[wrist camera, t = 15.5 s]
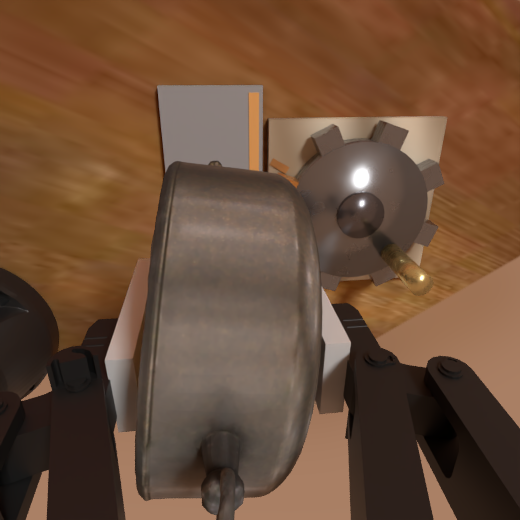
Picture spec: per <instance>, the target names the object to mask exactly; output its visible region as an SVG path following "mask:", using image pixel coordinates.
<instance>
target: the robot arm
mask: <svg viewBox="0 0 520 520" xmlns="http://www.w3.org/2000/svg"><path fill="white" fill-rule="evenodd" d="M149 268H150V258H148V259H138V262H137V265H136V268H135V271H134V274H133V277H132V280H131V283H130V286H129V289H128V292H127V295H126V298H125V301H124V304H123V307H122V310H121V313H120V316H119V318H117V319H101V320H97V321H96V322H95V323H94V324H93V325H92V326H91V327H90V328H89V329H88V331H87V334H86V336H85V340H84V341H83V343H82V345H81V346H74V347H70V348H67V349H63V350H61V351H59V352H58V353H57V351H58V346H59V332H58V326H57V323H56V320H55V317H54V315H53V313H52V311H51V309H50V308H49V306H48V304H47V303H46V302H45V300H44V299H43V298H42V297H41V296H40V294H39V293H38V292H37V291H36V290H35V289H34V288H32V287H31V286H30V285H29V284H28V283H26V282H25V281H24V280H22V279H21V278H19V277H17V276H16V275H14V274H12V273H11V272H9V271H7V270H5V269H2V268H0V520H26V517H27V514H28V511H29V508H30V505H31V503H32V500H33V497H34V494H35V491H36V488H37V485H38V483H39V480H40V477H41V474H42V472H43V471H46V470H49V479H48V502H47V503H48V504H47V520H125V512H124V504H123V496H122V489H121V481H120V474H119V466H118V458H117V450H116V443H115V438H114V433H113V432H114V428H115V423H116V421H117V425H118V431H119V432H127V431H136V412H137V399H138V377H139V369H140V357H141V353H140V352H141V347H142V335H143V330H144V318H145V305H146V300H147V293H148V274H149ZM47 373H48V377H49V380H50V384H51V387H52V391H51V392H49V393H47V394H44V395H41V396H38V397H35V398H32V399H28V400H25V401H21V399H23V398H24V397H26V396H27V395H28V394H30V393H31V392H32V391H33V390H34V389H35V388H36V387H37V386H38V385H39V384H40V383H41V381H42V380H43V379H44V377H45V376H46V374H47ZM344 399H345V401H346V404H347V406H348V408H349V412H348V420H347V428H346V436H345V438H346V439H348V450H349V476H350V477H349V479H350V506H351V520H433V515H432V510H431V506H430V501H429V496H428V492H427V487H426V483H425V478H424V473H423V469H422V464H421V460H420V455H419V450H418V446H417V442H418V444H419V446H420V448H421V450H422V452H423V454H424V456H425V457H426V459H427V461H428V463H429V465H430V467H431V469H432V471H433V473H434V475H435V477H436V479H437V481H438V483H439V485H440V487H441V489H442V491H443V493H444V494H445V497H446V499H447V501H448V503H449V504H450V506H451V508H452V510H453V512H454V514H455V516H456V518H457V520H520V428H519V427H518V426H517V424H516V423H515V422H514V421H513V419H512V418H511V417H510V416H509V415H508V413H507V412H506V411H505V410H504V409H503V407H502V406H501V405H500V403H499V402H498V401H497V400H496V398H495V397H494V396H493V395H492V393H491V392H490V391H489V390H488V388H487V387H486V386H485V385H484V383H483V382H482V381H481V380H480V379H479V377H478V376H477V375H476V374H475V372H474V371H473V370H472V369H471V368H470V367H469V366H468V365H467V364H466V363H464V362H462V361H460V360H458V359H455V358H452V357H446V356H438V357H433V358H431V359H430V360H429V361H428V363H427V367H426V368H423V367H417V366H410V365H405V364H402V363H400V362H399V360H398V359H397V357H396V356H395V355H394V354H393V353H392V352H390V351H388V350H385V349H383V348H380V346H379V344H378V342H377V341H376V339H375V338H374V336H373V334H372V333H371V331H370V329H369V328H368V327H367V324H366V323H365V321H364V320H363V318H362V316H361V315H360V313H359V311H358V310H357V309H355V308H354V307H353V306H351V305H350V304H348V303H343V304H331V303H330V301H329V299H328V297H327V295H326V293H325V291H324V289H323V287H322V340H321V355H320V366H319V375H318V383H317V391H316V396H315V401H316V404H317V407H318V410H319V413H320V414H325V413H336V412H343V406H344ZM416 440H417V441H416Z"/></svg>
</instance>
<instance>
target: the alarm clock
mask: <svg viewBox="0 0 520 520" xmlns="http://www.w3.org/2000/svg"><path fill="white" fill-rule="evenodd" d="M321 340H322V282H321V272H320V261H319V253H318V246H317V241H316V236H315V231H314V227H313V223H312V220H311V216H310V213H309V210H308V208H307V206H306V203H305V201H304V199H303V198H302V196H301V194H300V193H299V191H298V190H297V189H296V187H295V186H294V185H293V184H292V183H291V182H290V181H289V180H287V179H286V178H285V177H283V176H281V175H279V174H276V173H270V172H263V171H255V170H247V169H240V168H231V167H222V164H221V163H220V162H219V161H211V162H210V163H209V164H208V165H204V164H195V163H187V162H181V161H175V162H173V163H172V164H171V165H169V166H168V168H167V171H166V173H165V175H164V178H163V184H162V189H161V194H160V200H159V205H158V212H157V216H156V224H155V230H154V235H153V240H152V245H151V257H150V268H149V274H148V293H147V300H146V305H145V318H144V330H143V335H142V347H141V352H140V353H141V357H140V369H139V377H138V399H137V412H136V435H135V473H136V484H137V490H138V493H139V495H140V496H141V497H142V498H143V499H144V500H145V501H148V500H150V499H165V498H202V506H203V507H204V508H205V509H206V510H207V511H208V512H209V513H211V514H214V515H217V519H216V520H234V511H235V510H236V509H237V508H238V507H239V506H241V505H242V504H243V499H244V498H246V497H261V496H264V495H267V494H269V493H270V492H271V491H273V490H275V489H276V488H277V487H278V486H279V485H280V484H281V483H282V482H283V481H284V480H285V479H286V477H287V476H288V475H289V474H290V472H291V471H292V469H293V467H294V465H295V464H296V461H297V459H298V457H299V455H300V453H301V451H302V448H303V445H304V442H305V438H306V435H307V432H308V428H309V424H310V421H311V416H312V413H313V407H314V402H315V396H316V391H317V383H318V375H319V366H320V355H321Z"/></svg>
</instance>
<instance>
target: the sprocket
mask: <svg viewBox="0 0 520 520" xmlns="http://www.w3.org/2000/svg"><path fill="white" fill-rule="evenodd" d="M408 132H409V130H406V129H403V128H401V127H398V126H395V125H393V124H390V123H387V122H384V121H381V120H379V122H378V125H377V127H376V129H375V132H374V134H373V136H372V138H371V139H368V138H354V139H347V140H343V138H342V135H341V132H340V130H339V127H338V126H336V125H334V124H331V125H329V126H327V127H325V128H323V129H322V130H320V131H318V132H316V133H314V134H312V135H310V136H311V139H312V141H313V144H314V146H315V148H316V151H317V154H315V155H314V156H313V157H311V158H310V159H309V160H308V161H307V162H306V163H305V164H304V166H303V167H302V168H301V170H300V171H299V172H298V174H297V176H296V177H295V178H294V177H291V176H288V175H285V174H282V173H279V172H278V173H277V174H279V175H281V176H283V177H285V178H286V179H287V180H289V181H290V182H291V183H292V184H293V185H294V186H295V187H296V189H297V190H298V191H299V193H300V194H301V196H302V198H303V199H304V201H305V203H306V206H307V208H308V210H309V213H310V216H311V220H312V223H313V227H314V231H315V236H316V241H317V246H318V253H319V261H320V272H321V282H322V287H323V288H325V289H329V290H333V291H335V290H336V288H337V286H338V284H339V282H340V279H341V277H358V276H364V275H369V277H370V279H371V280H372V282H373V283H374V284H375V286H378V285H380V284H382V283H384V282H386V281H388V280H391V279H393V278H395V277H396V276H395V274H396V275H397V276H398V277H399V279H400V280H401V281H402V282H403V283H404V284H405V285H406V286H407V288H408V289H409V290H410V291H411V292H412V293H413V294H414V295H418V296H421V295H424V294H426V293H428V292H429V291H430V290H431V288H432V286H433V280H432V278H431V277H430V276H429V275H428V274H427V273H426V272H425V271H424V270H423V269H422V268H421V267H420V266H419V265H417V264H416V263H415V262H414V261H413V260H412V259H411V258H410V257H409V256H408V255H407V254H406V253H405V252H406V251H407V250H408V249H409V248H410V246H411V245H412V244H413V242H414V243H417V244H420V245H424V246H427V247H428V245H429V244H430V242H431V240H432V238H433V236H434V234H435V232H436V230H437V229H438V226H437V225H435V224H434V223H432V222H431V221H430V220H426V219H425V217H426V212H427V203H428V196H427V192H428V191H430V190H432V189H434V188H437V187H439V186H441V185H443V184H444V181H443V177H442V174H441V170H440V167H439V163H438V162H436V161H434V160H431V159H427V160H425V161H423V162H421V163H419V164H417V165H416V164H415V162H414V161H413V160H412V159H411V158H410V157H409V156H408V155H407V154H405V153H404V152H402V151H401V147H402V145H403V143H404V141H405V139H406V137H407V134H408Z"/></svg>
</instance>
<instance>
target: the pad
mask: <svg viewBox="0 0 520 520" xmlns="http://www.w3.org/2000/svg"><path fill="white" fill-rule="evenodd" d="M157 89H158V99H159V110H160V120H161V131H162V141H163V151H164V162H165V172H166V171H167V168H168V166H169V165H171V164H172V163H173V162H175V161H181V162H187V163H195V164H204V165H208V164H209V163H210V162H211V161H219V162H220V163H221V164H222V167H231V168H240V169H247V170H255V171H262V148H263V85H158V86H157Z"/></svg>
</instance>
